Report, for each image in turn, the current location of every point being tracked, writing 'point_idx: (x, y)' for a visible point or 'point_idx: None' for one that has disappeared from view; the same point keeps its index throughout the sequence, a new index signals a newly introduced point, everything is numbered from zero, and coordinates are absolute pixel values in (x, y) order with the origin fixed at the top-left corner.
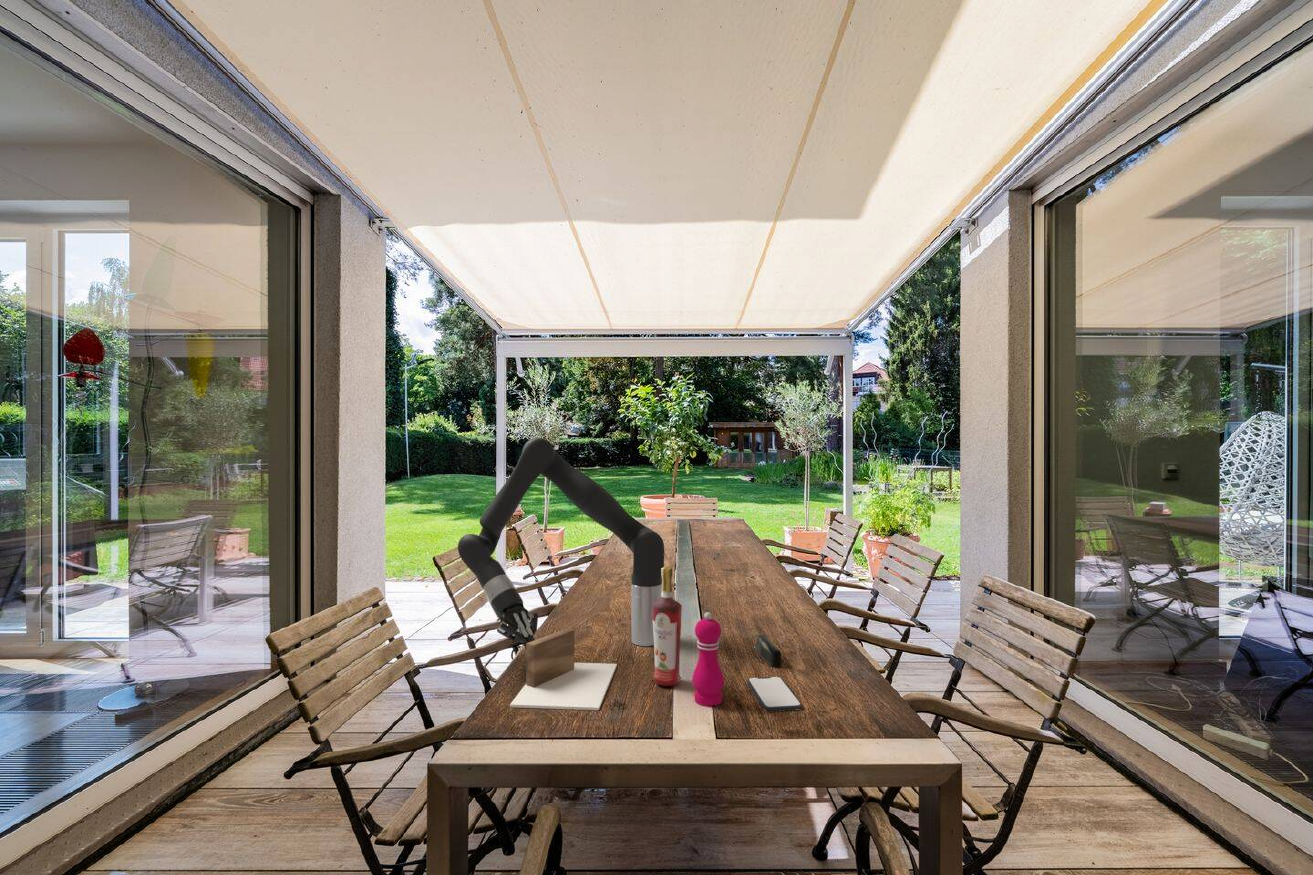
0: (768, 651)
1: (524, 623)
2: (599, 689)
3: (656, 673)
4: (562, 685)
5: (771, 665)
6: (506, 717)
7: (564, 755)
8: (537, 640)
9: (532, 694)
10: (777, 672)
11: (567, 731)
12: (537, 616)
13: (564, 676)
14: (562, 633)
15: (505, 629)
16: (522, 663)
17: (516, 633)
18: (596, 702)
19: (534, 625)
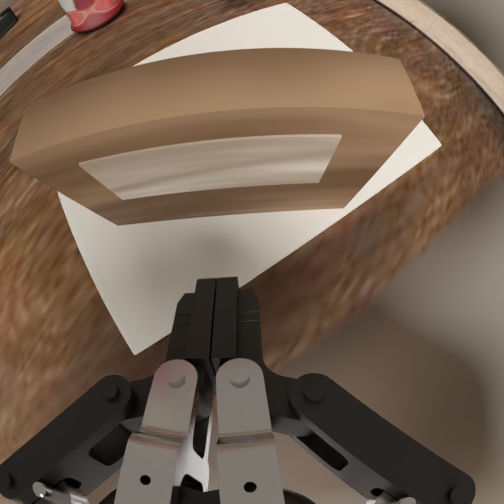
0: (1, 19)
1: (177, 487)
2: (208, 39)
3: (110, 1)
4: None
5: (15, 22)
6: (457, 121)
7: (411, 2)
8: (331, 91)
9: None
10: (31, 9)
11: (380, 14)
12: (7, 464)
13: None
14: (96, 90)
15: (438, 460)
16: None
17: (341, 410)
18: (271, 12)
19: (84, 424)
